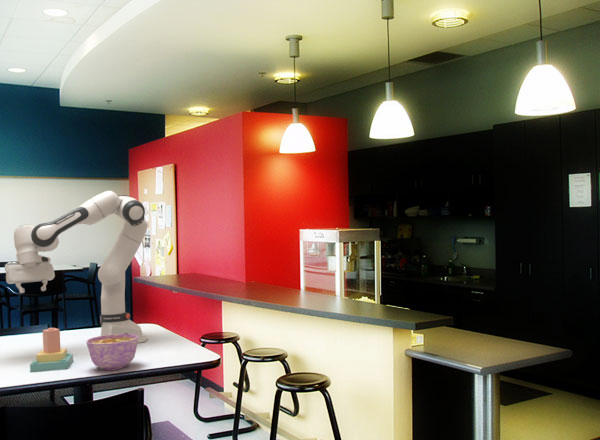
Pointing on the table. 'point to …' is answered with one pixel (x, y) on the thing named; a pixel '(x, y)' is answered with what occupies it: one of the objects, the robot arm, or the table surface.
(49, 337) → the tall brick
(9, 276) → the robot arm
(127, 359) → the bowl of food
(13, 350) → the table surface
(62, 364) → the stepped square block
